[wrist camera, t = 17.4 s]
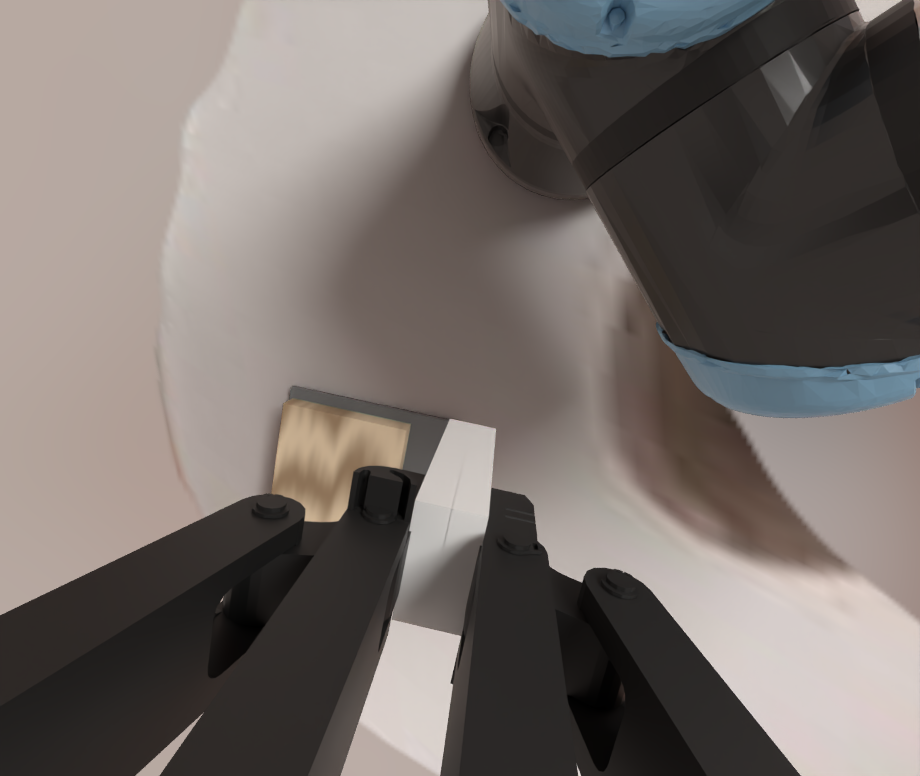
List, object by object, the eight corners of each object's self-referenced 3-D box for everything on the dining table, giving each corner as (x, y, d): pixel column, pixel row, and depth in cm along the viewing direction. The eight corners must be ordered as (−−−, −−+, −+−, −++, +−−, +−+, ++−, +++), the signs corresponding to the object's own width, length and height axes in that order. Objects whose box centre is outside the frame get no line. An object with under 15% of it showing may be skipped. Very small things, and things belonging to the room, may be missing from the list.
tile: (411, 423, 44) (293, 397, 45) (406, 430, 42) (283, 403, 43) (386, 555, 47) (274, 529, 47) (381, 567, 45) (264, 540, 45)
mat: (293, 385, 45) (290, 387, 44) (457, 421, 44) (457, 423, 44) (272, 537, 48) (269, 540, 47) (426, 572, 47) (425, 576, 47)
